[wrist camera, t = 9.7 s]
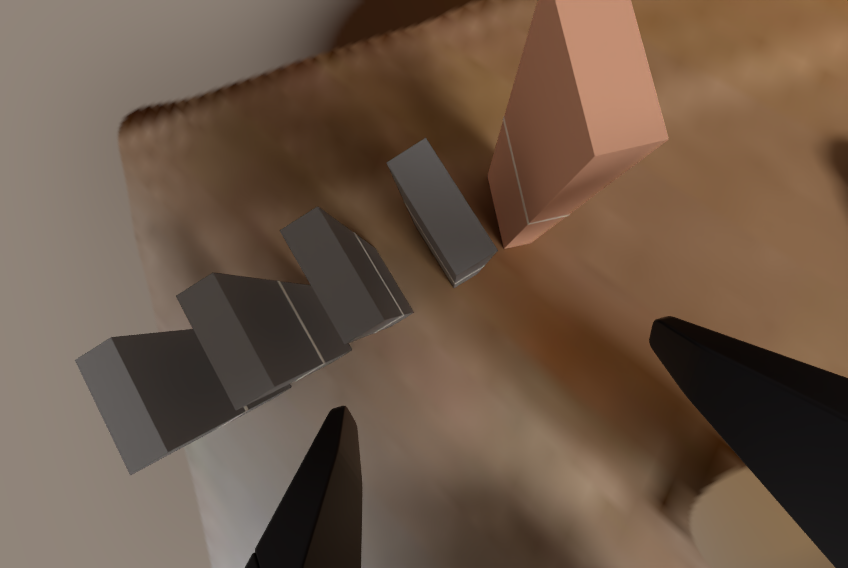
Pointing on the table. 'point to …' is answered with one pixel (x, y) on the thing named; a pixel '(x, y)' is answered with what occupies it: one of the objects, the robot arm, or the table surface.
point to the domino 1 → (158, 393)
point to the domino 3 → (346, 276)
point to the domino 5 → (572, 115)
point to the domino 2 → (260, 332)
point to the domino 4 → (441, 213)
